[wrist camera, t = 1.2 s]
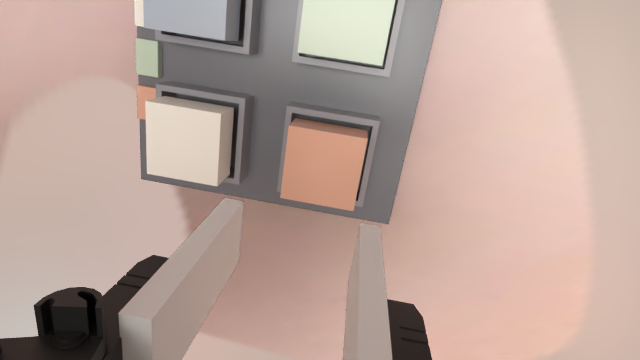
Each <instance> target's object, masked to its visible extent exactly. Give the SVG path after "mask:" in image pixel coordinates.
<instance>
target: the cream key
mask: <svg viewBox="0 0 640 360" xmlns="http://www.w3.org/2000/svg"><path fill="white" fill-rule="evenodd" d="M145 110H146V158H147V174H151V175H157V176H162V177H168V178H173V179H179V180H184V181H190V182H195V183H201V184H206V185H212V186H218V185H219V184H220V183H221V182H222V181H224V180H225V179H226V178H227V177H228V176H229V175H230V163H231V147H232V131H233V116H234V108H233V107H227V106H221V105H215V104H209V103H203V102H197V101H191V100H186V99H180V98H174V97H168V96H163V97H159V98H155V99H151V100H147V101H145Z"/></svg>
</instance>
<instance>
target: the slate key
mask: <svg viewBox="0 0 640 360" xmlns="http://www.w3.org/2000/svg"><path fill="white" fill-rule="evenodd" d="M240 6H241V0H143V15H144V28H148V29H155V30H161V31H167V32H173V33H180V34H186V35H192V36H198V37H205V38H211V39H217V40H223V41H238V38H239V22H240Z"/></svg>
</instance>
